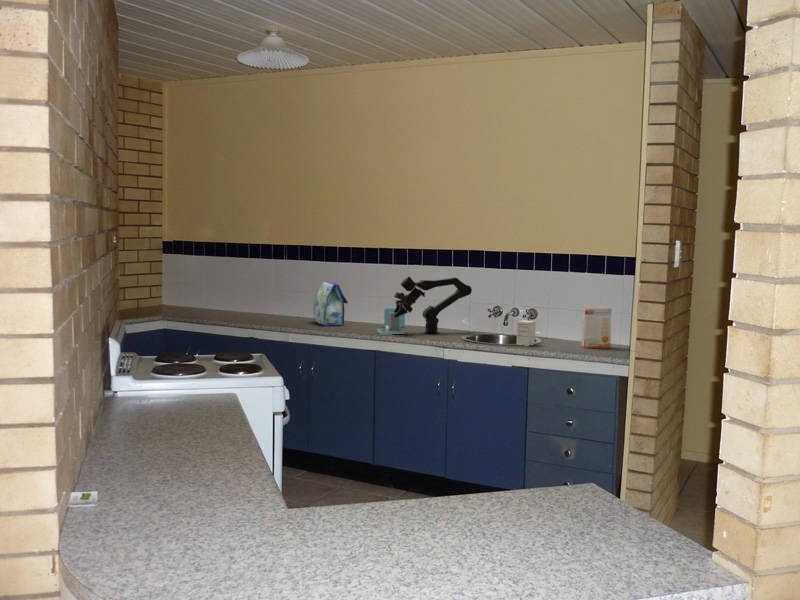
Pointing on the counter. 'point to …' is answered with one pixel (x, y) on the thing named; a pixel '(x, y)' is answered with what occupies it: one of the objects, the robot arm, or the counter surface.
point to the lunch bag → (329, 305)
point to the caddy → (388, 332)
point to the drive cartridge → (393, 322)
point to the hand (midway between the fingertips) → (393, 316)
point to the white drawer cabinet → (525, 332)
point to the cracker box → (596, 327)
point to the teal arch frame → (386, 317)
